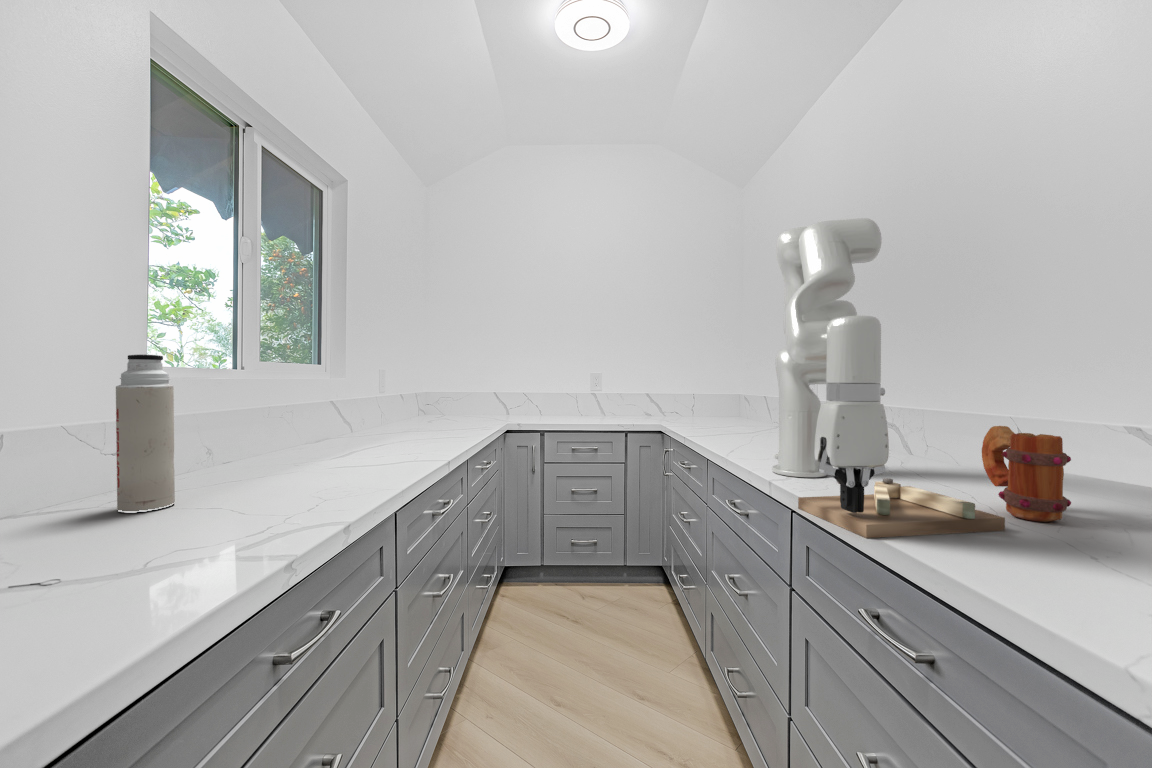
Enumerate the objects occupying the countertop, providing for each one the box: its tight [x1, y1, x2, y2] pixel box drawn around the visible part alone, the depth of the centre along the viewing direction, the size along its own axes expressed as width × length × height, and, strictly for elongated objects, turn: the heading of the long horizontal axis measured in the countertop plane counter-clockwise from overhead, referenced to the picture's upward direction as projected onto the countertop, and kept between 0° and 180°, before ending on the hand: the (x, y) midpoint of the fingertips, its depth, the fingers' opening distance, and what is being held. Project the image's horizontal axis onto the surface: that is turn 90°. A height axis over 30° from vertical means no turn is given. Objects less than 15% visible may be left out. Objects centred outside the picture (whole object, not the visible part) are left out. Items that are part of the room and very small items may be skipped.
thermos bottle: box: [115, 354, 176, 511], centre depth 91 cm, size 8×8×28 cm
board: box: [797, 493, 1006, 539], centre depth 84 cm, size 17×24×2 cm
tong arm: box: [873, 480, 901, 515], centre depth 85 cm, size 17×4×2 cm, turn 151°
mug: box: [981, 425, 1072, 523], centre depth 87 cm, size 15×8×15 cm, turn 179°
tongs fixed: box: [882, 477, 976, 519], centre depth 84 cm, size 16×3×3 cm, turn 9°
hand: (851, 510), depth 79 cm, fingers closed
